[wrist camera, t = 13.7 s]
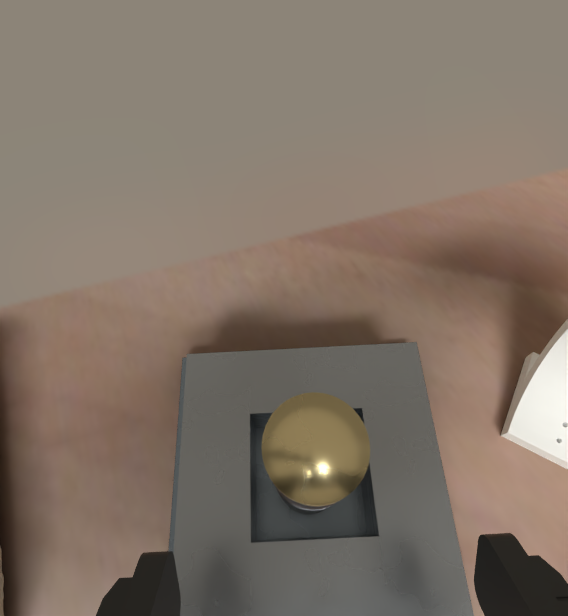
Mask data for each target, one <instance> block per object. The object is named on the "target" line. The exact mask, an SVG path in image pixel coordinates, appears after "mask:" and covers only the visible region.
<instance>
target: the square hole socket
mask: <svg viewBox="0 0 568 616" xmlns="http://www.w3.org/2000/svg"><path fill="white" fill-rule="evenodd" d="M311 392H318V393H325V394H329V395H332V396H334V397H337V398H339V399H341V400H342V401H344V402H345V403H347V404H348V405H349V406H350V407H352V408H353V409H354V410H355V412H356V413H357V414H358V415H359V417H360V418H361V420H362V421H363V423H364V425H365V428H366V430H367V433H368V437H369V442H370V459H369V465H368V468H367V471H366V473H365V475H364V478H363V479H362V481H361V482H360V484H359V485H358V486H357V488H356V489H355V490H354V491H353V492H352V493H350V494H349V495H348V496H346V497H345V498H343V499H342V500H340V501H338V502H337V503H335V504H333V505H332V506H330V507H328V508H327V509H325V510H324V511H322V512H319V513H316V514H311V515H306V514H301V513H298V512H296V511H294V510H292V509H291V508H289V507H288V506H287V505H286V504H285V503H284V501H283V500H282V498H281V496H280V495H279V493H278V491H277V489H276V488H275V486H274V484H273V482H272V480H271V479H270V477H269V475H268V473H267V471H266V468H265V465H264V462H263V458H262V449H261V448H262V437H263V432H264V429H265V426H266V424H267V422H268V420H269V418H270V416H271V415H272V413H273V412H274V411H275V410H276V409H277V408H278V407H279V406H280V405H281V404H282V403H284V402H285V401H286V400H288V399H290V398H292V397H294V396H297V395H300V394H304V393H311ZM169 551H172V552H173V554H174V559H175V565H176V571H177V576H178V582H179V588H180V595H181V609H180V616H474V614H473V610H472V605H471V600H470V595H469V591H468V586H467V581H466V576H465V571H464V567H463V562H462V557H461V552H460V548H459V543H458V538H457V533H456V528H455V524H454V519H453V514H452V509H451V505H450V500H449V495H448V490H447V486H446V481H445V476H444V471H443V466H442V462H441V457H440V452H439V447H438V443H437V438H436V433H435V428H434V423H433V419H432V414H431V409H430V404H429V400H428V395H427V390H426V385H425V380H424V376H423V371H422V366H421V361H420V357H419V352H418V347H417V342H411V343H391V344H372V345H353V346H333V347H314V348H295V349H275V350H256V351H237V352H217V353H198V354H187V358H183V360H182V374H181V388H180V402H179V415H178V429H177V443H176V457H175V470H174V484H173V498H172V512H171V526H170V539H169Z"/></svg>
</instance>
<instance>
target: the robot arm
mask: <svg viewBox="0 0 568 616" xmlns="http://www.w3.org/2000/svg"><path fill="white" fill-rule="evenodd" d="M474 585H475V591H476V595H477V598H478V601H479V604H480V606H481V609H482V611H483V613H484V615H485V616H568V584H567V582H566V581H565V580H564V578H563V577H562V575H561V574H560V573H559V572H558V571H556V570H555V569H554V568H553V567H552V566H550V565H549V564H548V563H547V562H546V561H545V560H543V559H542V558H541V557H540V556H539V555H538V556H528V555H527V553H526V552H525V550H524V549H523V547H522V546H521V544H520V543H519V541H518V540H517V539H516V537H515V536H514V535H512V534H511V533H502V534H485V535H480V536H479V539H478V547H477V556H476V565H475V574H474ZM180 609H181V595H180V588H179V582H178V576H177V571H176V565H175V559H174V554H173V552H172V551H167V552H149V553H143V554H142V555H141V557H140V559H139V561H138V564H137V567H136V569H135V572H134V575H133V577H131V578H119V579H118V581H117V582H116V583H115V584H114V586H113V587H112V588H111V589H110V590H109V592H108V593H107V594H106V595H105V597H104V598H103V600H102V602H101V605H100V607H99V609H98V612H97V614H96V616H180Z"/></svg>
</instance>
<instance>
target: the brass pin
mask: <svg viewBox="0 0 568 616" xmlns="http://www.w3.org/2000/svg"><path fill="white" fill-rule="evenodd" d="M261 449H262V458H263V462H264V465H265V468H266V471H267V473H268V475H269V477H270V479H271V480H272V482H273V484H274V486H275V488H276V489H277V491H278V493H279V495H280V496H281V498H282V500H283V501H284V503H285V504H286V505H287V506H288V507H289V508H291V509H292V510H294V511H296V512H298V513H301V514H306V515H311V514H316V513H319V512H322V511H324V510H325V509H327V508H328V507H330V506H332V505H333V504H335V503H337V502H338V501H340V500H342V499H343V498H345V497H346V496H348V495H349V494H350V493H352V492H353V491H354V490H355V489H356V488H357V486H358V485H359V484H360V482H361V481H362V479H363V478H364V475H365V473H366V471H367V468H368V465H369V459H370V442H369V437H368V433H367V430H366V428H365V425H364V423H363V421H362V420H361V418H360V417H359V415H358V414H357V413H356V412H355V410H354V409H353V408H352V407H350V406H349V405H348V404H347V403H345V402H344V401H342V400H341V399H339V398H337V397H334V396H332V395H329V394H325V393H318V392H311V393H304V394H300V395H297V396H294V397H292V398H290V399H288V400H286V401H285V402H284V403H282V404H281V405H280V406H279V407H278V408H277V409H276V410H275V411H274V412H273V413H272V415H271V416H270V418H269V420H268V422H267V424H266V426H265V429H264V432H263V437H262V448H261Z"/></svg>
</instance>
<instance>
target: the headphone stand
mask: <svg viewBox="0 0 568 616" xmlns="http://www.w3.org/2000/svg"><path fill="white" fill-rule="evenodd" d="M501 436H502V437H504V438H506V439H508V440H510V441H512V442H514V443H516V444H518V445H520V446H522V447H524V448H526V449H528V450H530V451H532V452H534V453H536V454H538V455H540V456H542V457H544V458H546V459H548V460H550V461H552V462H554V463H556V464H558V465H560V466H562V467H564V468H566V469H568V319H567V320H566V321H565V322H564V324H563V325H562V326H561V327H560V328H559V330H558V331H557V332H556V333H555V335H554V336H553V337H552V338H551V340H550V341H549V342H548V344H547V345H546V347H545V348H544V349H543V351H542V352H541V354H540V355H539V354H537V353H535V352H532V353H531V354H529V355H528V356H527V357H526V358H525V361H524V364H523V367H522V370H521V374H520V377H519V380H518V383H517V386H516V389H515V392H514V395H513V399H512V402H511V405H510V408H509V411H508V414H507V417H506V420H505V423H504V427H503V430H502V433H501Z"/></svg>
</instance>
